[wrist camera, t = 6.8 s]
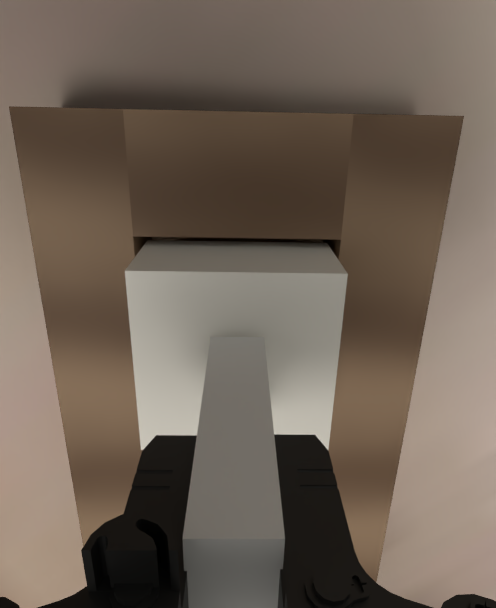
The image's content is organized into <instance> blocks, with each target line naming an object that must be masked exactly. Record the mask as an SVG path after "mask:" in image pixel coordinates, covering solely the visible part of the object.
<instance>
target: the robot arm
mask: <svg viewBox="0 0 496 608" xmlns="http://www.w3.org/2000/svg"><path fill="white" fill-rule="evenodd" d="M81 551H82V557H83V563H84V569H85V575H86V581H87V587H85V588H84V589H82V590H81V591H79V592H77V593H76V594H74V595H72V596H70V597H67V598H65V599H62V600H60V601H57V602H54V603H51V604H47V605H44V606H41V607H38V608H432V607H429V606H426V605H423V604H420V603H417V602H414V601H411V600H407V599H404V598H402V597H400V596H397V595H395V594H393V593H390V592H389V591H387V590H386V589H384V588H383V587H381V586H380V585H378V584H377V583H376V582H375V581H374V580H373V579H372V578H371V577H370V576H369V575H368V574H367V573H366V572H365V570H364V569H363V567H362V566H361V564H360V563H359V561H358V558H357V556H356V553H355V550H354V546H353V542H352V539H351V535H350V531H349V527H348V523H347V520H346V516H345V512H344V508H343V504H342V500H341V497H340V493H339V489H338V487H337V481H336V478H335V474H334V473H333V466H332V462H331V458H330V455H329V451H328V450H327V448H326V447H325V446H324V445H323V444H322V442H321V441H320V440H319V439H318V438H317V436H316V435H281V434H274V428H273V418H272V409H271V399H270V390H269V380H268V370H267V361H266V351H265V341H264V337H211V338H210V345H209V352H208V359H207V366H206V373H205V381H204V388H203V395H202V402H201V409H200V416H199V424H198V431H197V435H156V436H155V437H154V438H153V439H152V441H151V442H150V443H149V444H148V445H147V446H146V447H145V448H144V450H143V451H142V453H141V456H140V460H139V463H138V466H137V470H136V474H135V477H134V480H133V483H132V489H131V490H130V493H129V497H128V500H127V504H126V507H125V510H124V514H122V515H120V516H118V517H115V518H113V519H111V520H109V521H107V522H105V523H104V524H102V525H101V526H100V527H99V528H98V529H97V530H96V531H94V532H93V533H92V534H91V535H90V537H89V538H88V540H87V542H86V543H85V545H84V547H83V549H82V550H81ZM0 608H20V607H19V605H18V604H16V603H14V602H13V601H11V600H9V599H7V598H6V597H0ZM441 608H496V601H494V600H491V599H488V598H485V597H481V596H478V595H475V594H467V595H456V596H454V597H452V598H450V599H449V600H447V601H445V602H444V603H443V605H442V607H441Z"/></svg>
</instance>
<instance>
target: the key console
mask: <svg viewBox="0 0 496 608" xmlns="http://www.w3.org/2000/svg"><path fill="white" fill-rule="evenodd" d="M9 109H10V115H11V121H12V127H13V133H14V139H15V145H16V151H17V157H18V162H19V168H20V174H21V180H22V186H23V192H24V198H25V204H26V210H27V216H28V221H29V227H30V233H31V239H32V245H33V251H34V257H35V263H36V269H37V275H38V281H39V286H40V292H41V298H42V304H43V310H44V316H45V322H46V328H47V334H48V340H49V346H50V351H51V357H52V363H53V369H54V375H55V381H56V387H57V393H58V399H59V405H60V411H61V416H62V422H63V428H64V434H65V440H66V446H67V452H68V458H69V464H70V470H71V476H72V481H73V487H74V493H75V499H76V505H77V511H78V517H79V523H80V529H81V535H82V541H83V546H84V545H85V543H86V542H87V540H88V538H89V537H90V535H91V534H92V533H93V532H94V531H96V530H97V529H98V528H99V527H100V526H101V525H102V524H104V523H105V522H107V521H109V520H111V519H113V518H115V517H118V516H120V515H122V514H124V510H125V507H126V504H127V500H128V497H129V493H130V490H131V489H132V483H133V480H134V477H135V474H136V470H137V466H138V463H139V460H140V456H141V453H142V451H143V450H141V445H140V434H139V423H138V412H137V401H136V390H135V379H134V368H133V357H132V346H131V335H130V324H129V312H128V301H127V290H126V279H125V270H126V268H127V267H128V266H129V264H130V263H131V262H132V260H133V259H134V258H135V256H136V255H137V254H138V252H139V251H140V250H141V248H142V247H143V246H144V244H145V243H146V242H147V240H166V241H233V242H300V243H327V244H328V245H329V247H330V248H331V250H332V251H333V253H334V254H335V256H336V257H337V259H338V260H339V261H340V263H341V264H342V266H343V267H344V269H345V270H346V272H347V273H348V277H347V286H346V295H345V304H344V313H343V322H342V331H341V340H340V349H339V358H338V367H337V377H336V386H335V395H334V404H333V413H332V422H331V431H330V440H329V449H328V451H329V455H330V458H331V462H332V466H333V473H334V474H335V478H336V481H337V487H338V489H339V493H340V497H341V500H342V504H343V508H344V512H345V516H346V520H347V523H348V527H349V531H350V535H351V539H352V542H353V546H354V550H355V553H356V556H357V558H358V561H359V563H360V564H361V566H362V567H363V569H364V570H365V572H366V573H367V574H368V575H369V576H370V577H371V578H372V579H373V580H374V581H375V582H376V581H377V576H378V570H379V565H380V560H381V554H382V549H383V544H384V538H385V533H386V528H387V522H388V517H389V512H390V506H391V501H392V496H393V490H394V485H395V480H396V474H397V469H398V464H399V458H400V453H401V448H402V442H403V437H404V432H405V427H406V421H407V416H408V411H409V405H410V400H411V395H412V389H413V384H414V379H415V373H416V368H417V363H418V357H419V352H420V347H421V341H422V336H423V331H424V325H425V320H426V315H427V309H428V304H429V299H430V294H431V288H432V283H433V278H434V272H435V267H436V262H437V256H438V251H439V246H440V240H441V235H442V230H443V224H444V219H445V214H446V208H447V203H448V198H449V192H450V187H451V182H452V176H453V171H454V166H455V160H456V155H457V150H458V145H459V139H460V134H461V129H462V123H463V118H464V116H434V115H386V114H339V113H291V112H244V111H196V110H149V109H102V108H54V107H9Z"/></svg>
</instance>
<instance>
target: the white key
mask: <svg viewBox="0 0 496 608" xmlns="http://www.w3.org/2000/svg"><path fill="white" fill-rule="evenodd" d="M347 277H348V273H347V272H346V270H345V269H344V267H343V266H342V264H341V263H340V261H339V260H338V259H337V257H336V256H335V254H334V253H333V251H332V250H331V248H330V247H329V245H328V244H327V243H300V242H233V241H166V240H147V242H146V243H145V244H144V246H143V247H142V248H141V250H140V251H139V252H138V254H137V255H136V256H135V258H134V259H133V260H132V262H131V263H130V264H129V266H128V267H127V268H126V270H125V279H126V290H127V301H128V312H129V324H130V335H131V346H132V357H133V368H134V379H135V390H136V401H137V412H138V423H139V434H140V445H141V450H144V448H145V447H146V446H147V445H148V444H149V443H150V442H151V441H152V439H153V438H154V437H155V436H156V435H197V431H198V424H199V416H200V409H201V402H202V395H203V388H204V381H205V373H206V366H207V359H208V352H209V345H210V338H211V337H264V341H265V351H266V361H267V370H268V380H269V390H270V399H271V409H272V418H273V428H274V434H281V435H316V436H317V438H318V439H319V440H320V441H321V442H322V444H323V445H324V446H325V447H326V448H327V450H328V449H329V440H330V431H331V422H332V413H333V404H334V395H335V386H336V377H337V367H338V358H339V349H340V340H341V331H342V322H343V313H344V304H345V295H346V286H347Z"/></svg>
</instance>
